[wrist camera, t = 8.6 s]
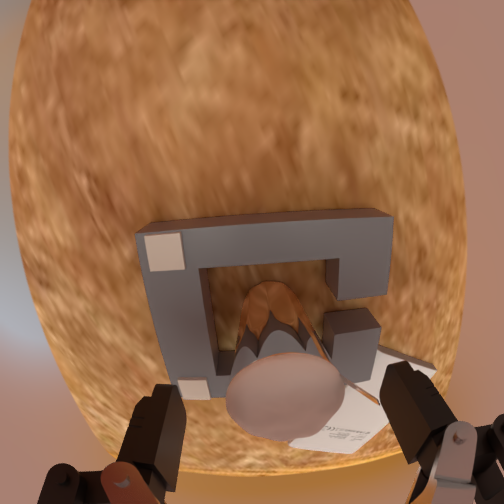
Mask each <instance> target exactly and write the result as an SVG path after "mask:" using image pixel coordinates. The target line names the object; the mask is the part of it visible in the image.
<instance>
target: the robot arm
mask: <svg viewBox="0 0 504 504" xmlns="http://www.w3.org/2000/svg"><path fill="white" fill-rule="evenodd" d="M379 398H380V403H381V405H382V408H383V410H384V412H385V414H386V416H387V418H388V420H389V422H390V425H391V427H392V429H393V431H394V433H395V435H396V438H397V440H398V442H399V444H400V447H401V449H402V451H403V453H404V456H405V458H406V460H407V462H408V464H411V463H414V462H416V461H418V462H419V464H420V466H419V468H418V471H417V473H416V476H415V479H414V482H413V485H412V487H411V490H410V493H409V495H408V497H407V500H406V502H405V504H473V501H474V499H475V502H476V504H504V477H503V475H502V473H501V471H500V469H499V467H498V465H497V463H496V460H497V459H498V460H499V462H500V464H501V466H502V468H503V470H504V414H501V415H499V416H498V417H497V418H496V419H495V421H494V422H493V424H491V425H486V426H481V427H473V426H472V425H471V424H470V423H468V422H464V421H458V420H457V419H456V417H455V416H454V414H453V413H452V411H451V410H450V408H449V407H448V405H447V404H446V402H445V401H444V399H443V398H442V396H441V395H440V394H439V392H438V390H437V389H436V387H434V384H433V383H432V382H431V380H430V379H429V377H428V376H427V375H425V374H424V373H422V372H421V371H420V370H415V371H414V369H413V368H412V367H411V365H410V364H409V362H408V361H406V360H405V361H401V362H396V363H392V364H389V365H388V366H387V368H386V371H385V374H384V378H383V381H382V384H381V388H380V392H379ZM185 428H186V410H185V407H184V404H183V402H182V399H181V396H180V393H179V390H178V387H177V385H170V384H156V385H155V387H154V390H153V393H152V396H151V397H147V396H144V397H143V398H142V399H141V400H140V401H139V402H138V403H137V404H136V406H135V409H134V411H133V414H132V418H131V420H130V423H129V427H128V428H127V431H126V434H125V437H124V440H123V443H122V446H121V449H120V452H119V455H118V458H117V460H116V462H114V463H111V464H109V465H108V466H107V467H105V468H104V470H102V471H91V472H90V471H89V472H78V471H77V470H76V469H75V468H74V467H73V466H71V465H68V464H65V463H61V464H56V465H54V466H53V467H52V468H51V469H50V470H49V471H48V473H47V476H46V479H45V482H44V485H43V487H42V490H41V493H40V496H39V500H38V503H37V504H167V503H166V502H165V500H164V499H165V492H166V491H170V492H175V489H176V482H177V476H178V470H179V463H180V457H181V451H182V445H183V439H184V433H185Z"/></svg>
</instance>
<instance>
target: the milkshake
mask: <svg viewBox="0 0 504 504" xmlns="http://www.w3.org/2000/svg"><path fill="white" fill-rule="evenodd" d="M344 383H346V384H347V385H349V386H350V387H352V388H353V389H355V390H356V391H358V392H359V393H360V394H362V395H363V396H365V397H366V398H368V399H369V400H371V401H372V402H374V403H376V404H377V405H379V406H380V403H379V400H378V399H377V398H375V397H374V396H372V395H371V394H369V393H368V392H366V391H365V390H363V389H362V388H360V387H359V386H357V385H356V384H354V383H352V382H351V381H349V380H348V379H346V378H345V377H344V376H342V375H341V374H340V373H339V371H338V369H337V368H336V366H335V364H334V363H333V361H332V359H331V358H330V356H329V354H328V353H327V351H326V349H325V348H324V346H323V344H322V342H321V341H320V339H319V337H318V335H317V334H316V332H315V330H314V328H313V326H312V324H311V322H310V320H309V319H308V317H307V315H306V313H305V311H304V309H303V307H302V306H301V304H300V302H299V300H298V298H297V297H296V295H295V293H294V292H293V291H292V290H291V289H289V288H288V287H287V286H286V285H285V284H284V283H282V282H273V281H264V282H262V283H260V284H258V285H256V286H254V287H252V288H250V290H249V292H248V294H247V296H246V298H245V300H244V302H243V306H242V312H241V318H240V324H239V330H238V336H237V342H236V349H235V355H234V360H233V364H232V369H231V374H230V378H229V383H228V388H227V393H226V407H227V411H228V413H229V415H230V416H231V418H232V419H233V420H234V421H235V422H236V423H237V424H238V425H239V426H240V427H242V428H243V429H244V430H245V431H246V432H248V433H249V434H251V435H254V436H258V437H263V438H267V439H271V440H275V441H288V440H292V439H297V438H306V437H310V436H313V435H315V434H317V433H318V432H319V431H320V430H321V429H322V428H323V427H324V426H325V425H326V424H327V422H328V421H329V420H330V419H331V418H332V416H334V414H335V413H336V412H337V411H338V410H339V408H340V407H341V405H342V403H343V400H344V396H345V387H344Z"/></svg>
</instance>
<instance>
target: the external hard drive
mask: <svg viewBox="0 0 504 504" xmlns="http://www.w3.org/2000/svg"><path fill="white" fill-rule="evenodd" d="M405 360H406V361H408V362H409V364H410V365H411V367H412V368H413V369H414V371H415V370H420V371H421V372H422V373H424V374H425V375H427V376H428V377H429V379H430V378H431V377H432V376H433V375H434V374H435V372H436V371H437V369H436V368H435V367H434V365H433V364H431V363H428V362H425V361H422V360H419V359H416V358H413V357H411V356H408V355H405V354H402V353H399V352H397V351H394V350H391V349H389V348H386V347H383V346H381V345H378V348H377V353H376V357H375V362H374V366H373V370H372V374H371V379H370V380H369V381H364V382H359V383H354V384H356V385H357V386H359V387H360V388H362V389H363V390H365V391H366V392H368V393H369V394H371V395H372V396H374V397H375V398H377V399H378V400H379V403H380V398H379V392H380V388H381V384H382V381H383V378H384V374H385V371H386V368H387V366H388V365H389V364H392V363H396V362H401V361H405ZM344 387H345V396H344V400H343V403H342V405H341V407H340V408H339V410H338V411H337V412H336V413H335V414H334V416H332V418H331V419H330V420H329V421H328V422H327V424H326V425H325V426H324V427H323V428H322V429H321V430H320V431H319V432H318V433H317V434H315V435H313V436H310V437H306V438H297V439H292V440H288V445H289V446H291V447H293V448H300V449H307V450H316V451H324V452H334V453H346V454H352V453H354V452H355V451H357V450H358V449H359V448H360V447H361V446H362V445H364V444H365V443H366V442H367V441H368V440H370V439H371V438H372V437H373V436H374V435H375V434H377V433H378V432H379V431H380V430H381V429H382V428H383V427H384V426H385V425H387V424H388V423H389V420H388V418H387V416H386V414H385V412H384V410H383V408H382V405H381V403H380V406H379V405H377V404H376V403H374V402H372V401H371V400H369V399H368V398H366V397H365V396H363V395H362V394H360V393H359V392H358V391H356V390H355V389H353V388H352V387H350V386H349V385H344Z"/></svg>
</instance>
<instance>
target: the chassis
mask: <svg viewBox="0 0 504 504" xmlns="http://www.w3.org/2000/svg"><path fill="white" fill-rule="evenodd" d="M393 221H394V217H393V216H391V215H389V214H386V213H384V212H382V211H379V210H377V209H375V208H364V209H335V210H313V211H293V212H276V213H260V214H246V215H232V216H220V217H207V218H196V219H185V220H174V221H164V222H154V223H149V224H148V225H147V226H145V227H144V228H142V229H141V230H139V231H138V232H137V233H135V238H136V244H137V250H138V255H139V260H140V266H141V271H142V276H143V280H144V285H145V289H146V294H147V298H148V303H149V307H150V311H151V315H152V319H153V323H154V327H155V330H156V334H157V338H158V341H159V345H160V348H161V352H162V355H163V359H164V362H165V365H166V369H167V372H168V375H169V378H170V381H171V384H172V385H177V387H178V390H179V393H180V396H181V397H183V399H185V400H211V398H215V397H226V393H227V388H228V383H229V378H230V374H231V369H232V364H233V360H234V355H235V351H219V348H218V342H217V336H216V330H215V323H214V317H213V310H212V303H211V296H210V289H209V281H208V274H207V268H212V267H227V266H242V265H256V264H270V263H283V262H297V261H310V260H322V259H326V283H327V285H328V286H329V288H330V290H331V291H332V293H333V294H334V296H335V298H336V299H337V301H340V300H348V299H356V298H364V297H372V296H379V295H387V288H388V280H389V272H390V262H391V251H392V238H393ZM380 333H381V326H380V325H379V323H378V322H377V321H376V319H375V318H374V317H373V315H372V314H371V313H370V311H369V310H368V309H367V308H361V309H354V310H346V311H338V312H330V313H324V324H323V339H322V344H323V346H324V348H325V349H326V351H327V353H328V354H329V356H330V358H331V359H332V361H333V363H334V364H335V366H336V368H337V369H338V371H339V373H340V374H341V375H342V376H344V377H345V378H346V379H348V380H349V381H351V382H352V383H359V382H364V381H369V380H370V379H371V374H372V370H373V366H374V362H375V357H376V353H377V348H378V343H379V338H380ZM344 385H347V384H346V383H344Z"/></svg>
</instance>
